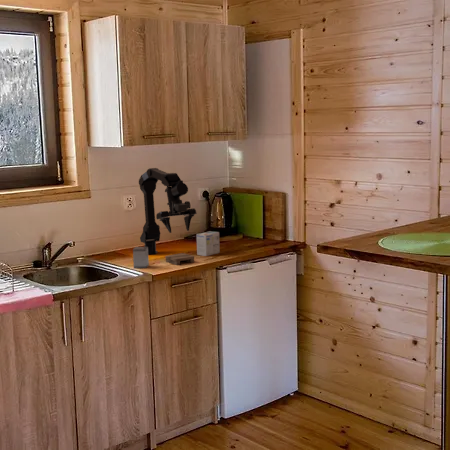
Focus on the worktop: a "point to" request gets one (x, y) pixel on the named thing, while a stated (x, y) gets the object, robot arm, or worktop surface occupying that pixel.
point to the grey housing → (140, 257)
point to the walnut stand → (179, 258)
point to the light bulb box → (208, 243)
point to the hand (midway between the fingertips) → (179, 231)
